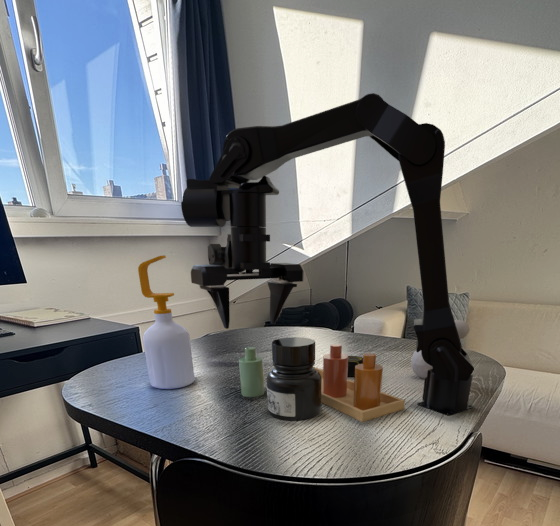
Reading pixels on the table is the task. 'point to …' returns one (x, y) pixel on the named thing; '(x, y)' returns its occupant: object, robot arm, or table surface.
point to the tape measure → (353, 364)
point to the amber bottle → (367, 383)
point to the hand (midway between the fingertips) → (250, 325)
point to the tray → (346, 406)
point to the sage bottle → (251, 374)
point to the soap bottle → (165, 341)
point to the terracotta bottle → (335, 372)
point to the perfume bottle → (417, 360)
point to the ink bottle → (294, 380)
